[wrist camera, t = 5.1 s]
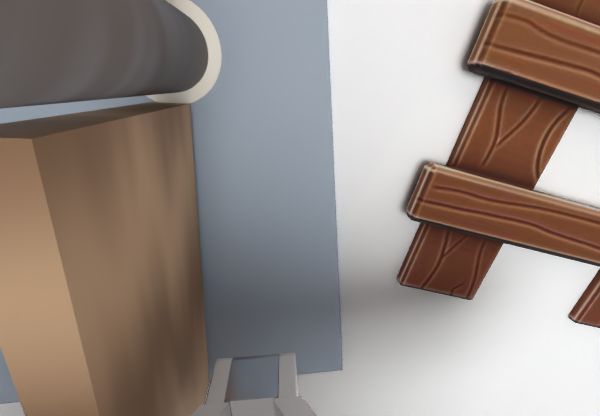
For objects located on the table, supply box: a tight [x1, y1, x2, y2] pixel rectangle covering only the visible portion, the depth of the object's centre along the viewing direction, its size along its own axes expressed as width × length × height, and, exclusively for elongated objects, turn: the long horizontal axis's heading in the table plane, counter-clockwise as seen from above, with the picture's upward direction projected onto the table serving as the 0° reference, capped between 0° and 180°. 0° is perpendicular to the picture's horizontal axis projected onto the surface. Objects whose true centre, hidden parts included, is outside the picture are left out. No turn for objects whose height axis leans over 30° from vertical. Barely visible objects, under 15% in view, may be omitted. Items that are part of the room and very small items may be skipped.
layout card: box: [0, 0, 342, 404], centre depth 10 cm, size 28×17×1 cm, turn 5°
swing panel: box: [0, 102, 209, 416], centre depth 9 cm, size 12×1×7 cm, turn 177°
